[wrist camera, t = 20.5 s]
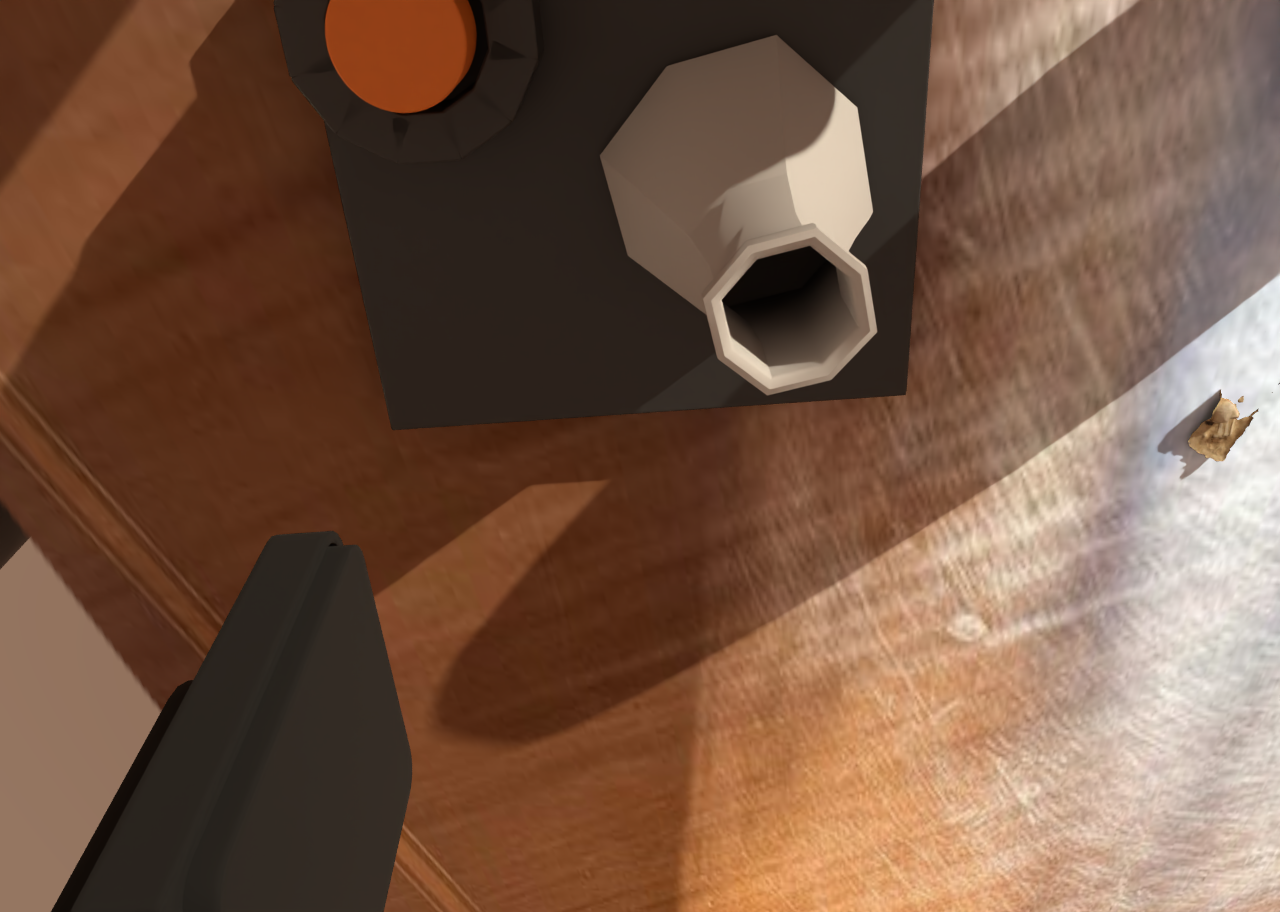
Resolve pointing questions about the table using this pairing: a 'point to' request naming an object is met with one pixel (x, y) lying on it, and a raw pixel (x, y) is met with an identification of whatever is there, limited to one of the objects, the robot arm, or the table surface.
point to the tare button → (401, 49)
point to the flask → (752, 208)
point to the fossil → (1220, 430)
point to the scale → (588, 206)
